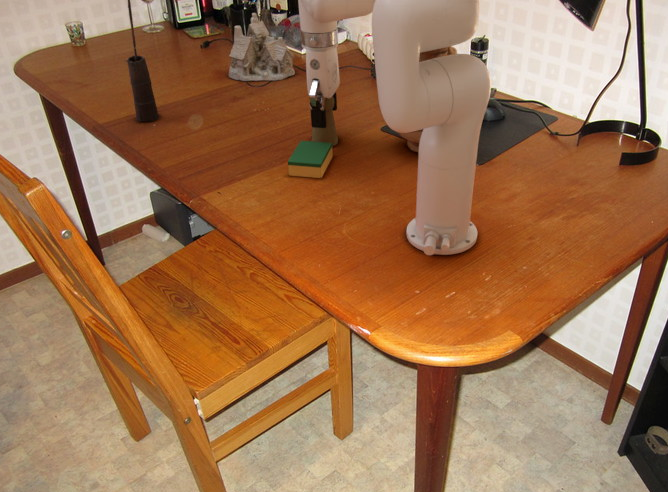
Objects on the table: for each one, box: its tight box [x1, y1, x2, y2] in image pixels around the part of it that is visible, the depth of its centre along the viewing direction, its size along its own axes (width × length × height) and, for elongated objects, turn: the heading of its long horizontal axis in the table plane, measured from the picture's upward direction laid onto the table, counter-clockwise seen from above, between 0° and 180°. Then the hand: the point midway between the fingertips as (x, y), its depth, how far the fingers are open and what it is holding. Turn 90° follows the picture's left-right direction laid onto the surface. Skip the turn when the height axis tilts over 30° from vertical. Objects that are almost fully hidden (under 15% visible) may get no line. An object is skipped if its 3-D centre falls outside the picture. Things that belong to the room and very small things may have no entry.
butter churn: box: [124, 0, 160, 123], centre depth 147 cm, size 9×10×28 cm
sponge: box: [287, 140, 334, 179], centre depth 136 cm, size 10×7×3 cm
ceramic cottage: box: [228, 12, 296, 82], centre depth 176 cm, size 16×16×15 cm
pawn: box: [311, 93, 339, 147], centre depth 142 cm, size 6×6×11 cm
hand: (324, 118), depth 142 cm, fingers open, 9 cm apart
